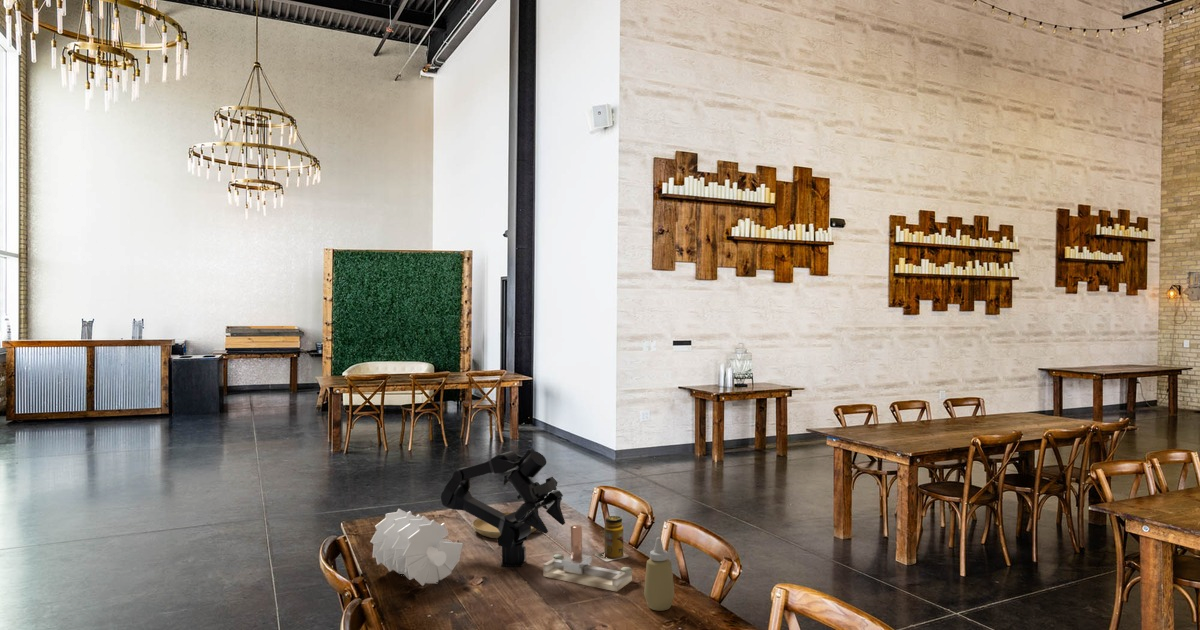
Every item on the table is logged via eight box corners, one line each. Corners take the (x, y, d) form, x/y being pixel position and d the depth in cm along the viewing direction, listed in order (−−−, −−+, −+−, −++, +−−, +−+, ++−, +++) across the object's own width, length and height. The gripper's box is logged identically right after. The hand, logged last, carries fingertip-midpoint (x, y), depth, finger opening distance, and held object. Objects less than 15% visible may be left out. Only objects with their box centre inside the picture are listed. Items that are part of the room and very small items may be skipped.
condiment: (629, 556, 226) (628, 518, 226) (606, 562, 222) (606, 523, 221) (615, 550, 232) (615, 513, 232) (593, 555, 228) (593, 517, 228)
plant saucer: (549, 522, 264) (549, 513, 264) (528, 543, 241) (528, 533, 241) (487, 518, 269) (487, 510, 269) (461, 539, 246) (461, 529, 246)
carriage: (561, 572, 209) (561, 528, 208) (574, 564, 215) (573, 522, 215) (579, 575, 206) (578, 531, 206) (591, 568, 212) (591, 525, 212)
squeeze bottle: (641, 601, 192) (641, 533, 192) (671, 599, 193) (671, 532, 192) (646, 614, 184) (645, 543, 184) (677, 612, 185) (676, 542, 184)
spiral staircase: (426, 605, 201) (379, 578, 218) (473, 562, 212) (425, 540, 229) (402, 554, 194) (355, 530, 211) (451, 513, 206) (403, 494, 223)
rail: (541, 575, 211) (541, 562, 211) (557, 565, 219) (557, 553, 219) (619, 592, 198) (619, 578, 198) (634, 581, 206) (634, 567, 206)
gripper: (522, 476, 208) (554, 520, 203) (557, 464, 224) (588, 504, 219) (500, 500, 212) (531, 543, 207) (536, 486, 228) (566, 526, 223)
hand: (555, 528), depth 214 cm, fingers open, 9 cm apart
